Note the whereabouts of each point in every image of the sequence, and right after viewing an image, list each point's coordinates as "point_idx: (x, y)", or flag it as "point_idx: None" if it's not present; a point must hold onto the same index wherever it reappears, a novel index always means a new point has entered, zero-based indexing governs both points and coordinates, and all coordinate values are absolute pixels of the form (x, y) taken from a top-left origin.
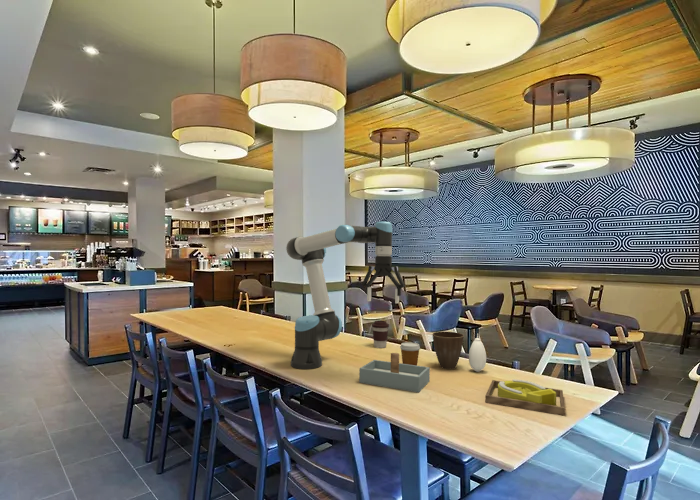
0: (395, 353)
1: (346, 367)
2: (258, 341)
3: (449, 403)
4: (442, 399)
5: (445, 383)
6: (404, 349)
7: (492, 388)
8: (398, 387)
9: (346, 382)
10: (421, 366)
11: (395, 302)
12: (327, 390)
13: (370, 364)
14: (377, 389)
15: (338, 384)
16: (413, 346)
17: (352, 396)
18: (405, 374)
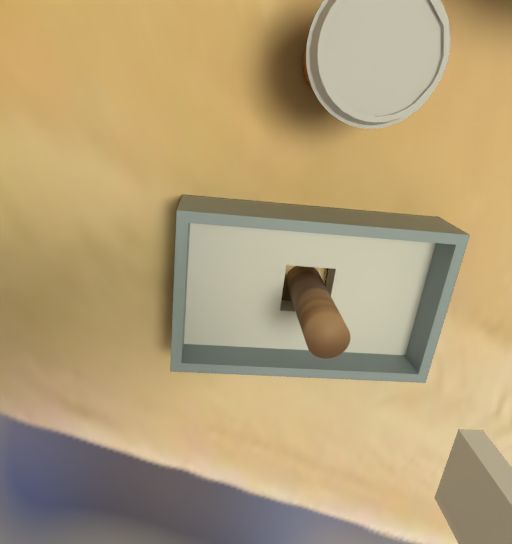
0: (329, 332)
1: (15, 159)
2: None
3: (494, 397)
4: (477, 377)
5: (502, 217)
6: (344, 119)
7: None
8: None
9: (130, 355)
10: (431, 235)
11: (443, 508)
12: (112, 443)
13: (185, 280)
14: (263, 376)
15: (114, 384)
16: (412, 110)
17: (209, 455)
18: (347, 251)
